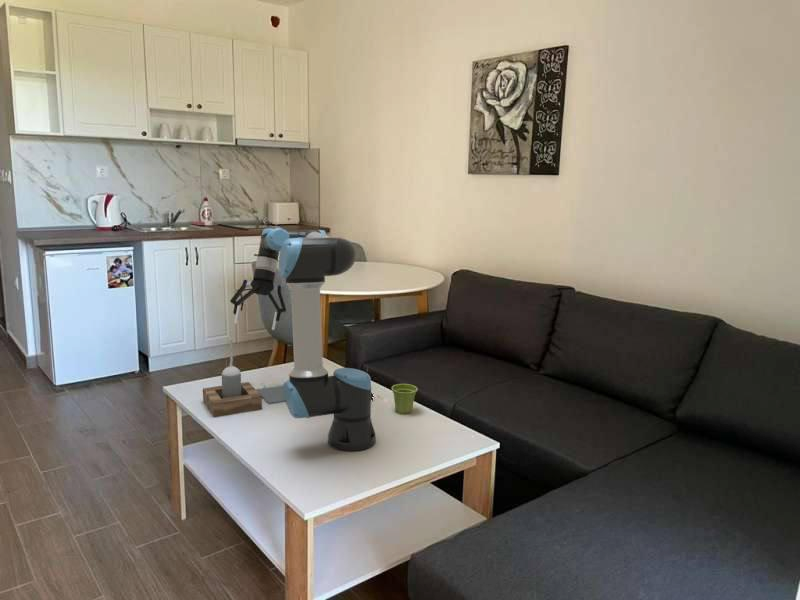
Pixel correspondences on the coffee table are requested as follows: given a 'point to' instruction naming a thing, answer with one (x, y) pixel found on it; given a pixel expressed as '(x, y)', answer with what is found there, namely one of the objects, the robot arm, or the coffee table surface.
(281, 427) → the coffee table surface
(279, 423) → the coffee table surface
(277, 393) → the mat
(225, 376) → the humidifier
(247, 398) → the dock
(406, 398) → the plant pot
